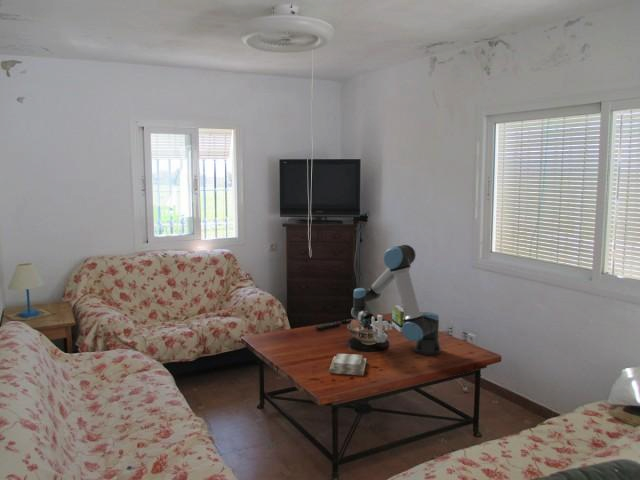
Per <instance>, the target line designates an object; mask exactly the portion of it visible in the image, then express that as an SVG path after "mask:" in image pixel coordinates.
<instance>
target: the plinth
mask: <svg viewBox="0 0 640 480" xmlns="http://www.w3.org/2000/svg"><path fill="white" fill-rule="evenodd" d="M366 365H367V358H366V357H363V354H353V353H351V354H350V353H336V356H335V355H334V356H333V358H332V361H331V364H330V366H329V369H328V370H329V371H328V373H329V374H336V375H337V374H339V375H350V374H351V376H352V375H353V376H354V375H355V376H364V374H365V371H366V367H367V366H366Z"/></svg>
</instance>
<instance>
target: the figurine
mask: <svg viewBox="0 0 640 480" xmlns="http://www.w3.org/2000/svg"><path fill="white" fill-rule="evenodd" d="M374 317H375V316H374ZM374 317H372V325H373V326H375V327H377V332H372V335H373V338H374V340H375V342H376V343H386V340H387V338H388V335H387V334H386V332H383V327H385V328H384V329H385V331H388V330H389V329H388V322H387V321H382V319H383V315H382V314H377V317H375V318H377V319H378V321H375V318H374Z"/></svg>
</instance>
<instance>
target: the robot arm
mask: <svg viewBox="0 0 640 480" xmlns="http://www.w3.org/2000/svg"><path fill="white" fill-rule="evenodd" d="M415 260H416V251H415V249H414V248H413V247H412V246H411V245H408V244H402V245H397V246H392V247H390V248H388V249H386V250H385V253H384V255H383V263H384V265H385V266H386V267H387V268H386V269H385V270H384V271H383V272H382V274H381V275H379V277H378V278H377V279H376V280H375V281H374V282H373V283H372V284H371V286H370V287H369V288H368V289H365V288H363V287H358V288H355V289H353V296H352V297H353V307H352V308H351V311H350V313H351V316H352V317H353V319H355V320H357V321H359V322H360V323H359V324H360V325H361V326H362V327H363V329H367V331H370V330H371V331H372V332H373V333H377V326H373V325H372V317H374V318H375V321H378V319H377V317H375V316H374V314H372V313H371V312H370V311H367V310H366V309H367V303H369V302H371V301H376V300H377V299H380V297H381V295H382V293H383V292H384V290H386V288H387V287H388V286H389V285H390V284H392V282H393V281H394V280H395V284H396V288H397V291H398V295H399V300H400V303H401V305H402V307H403V311H404V318H403V322H404V324H403V327H402V335H403V337H404V339H406V340H407V341H409V342H412V343H413V342H414V343H415V345H414V352H415V353H417V354H418V355H422V356H437V355H439V354H441V353H442V352H441V350H442V349H441V345H440V342H439V325H440V324H439V323H440V322H439V321H440V319H439V315H438V314H437V313H434V312H430V311H429V312H428V311H420V309H419V305H418V302H417V297H416V294H415V289H414V286H413V281H412V278H411V274H410V269H411V265H412V264H413V262H414V261H415ZM382 321H387V322H388V330H390V331H393V326H392V323H391V320H388V319H385V318H382Z"/></svg>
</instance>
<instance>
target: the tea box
mask: <svg viewBox="0 0 640 480" xmlns="http://www.w3.org/2000/svg"><path fill="white" fill-rule="evenodd" d="M391 310H392V312H391V316H392V317H391V319H392V321H391V325H392V328H395V330H397V332H399V333H402V327H403V324H404V322H403V318H404V311H403V307H402V304H397V305H392V307H391ZM402 334H403V333H402Z"/></svg>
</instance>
